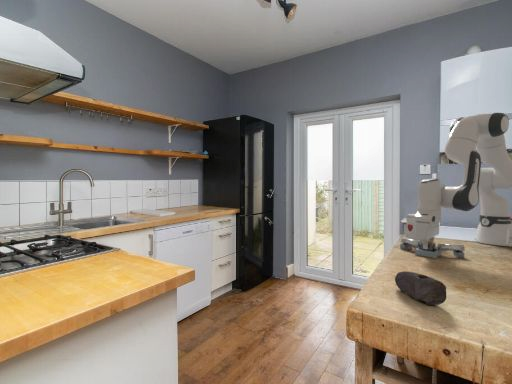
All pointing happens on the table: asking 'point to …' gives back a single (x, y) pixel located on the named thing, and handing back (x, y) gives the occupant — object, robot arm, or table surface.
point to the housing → (427, 253)
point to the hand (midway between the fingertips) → (428, 247)
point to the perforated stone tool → (421, 287)
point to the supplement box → (411, 227)
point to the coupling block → (431, 246)
